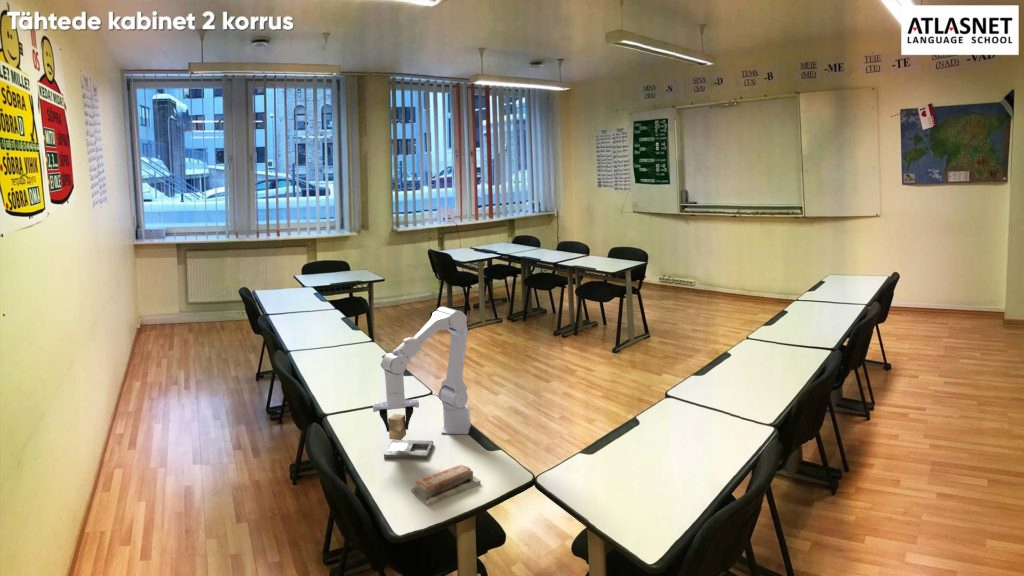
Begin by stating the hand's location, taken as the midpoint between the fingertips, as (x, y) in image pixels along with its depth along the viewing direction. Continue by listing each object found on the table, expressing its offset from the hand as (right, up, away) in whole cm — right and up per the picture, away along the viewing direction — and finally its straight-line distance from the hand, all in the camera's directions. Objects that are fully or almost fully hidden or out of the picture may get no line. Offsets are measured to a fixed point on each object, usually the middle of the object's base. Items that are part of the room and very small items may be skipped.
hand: (397, 429), depth 194 cm
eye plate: (+4, -8, +1) cm, 9 cm away
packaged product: (+18, -13, -20) cm, 30 cm away
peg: (0, -3, 0) cm, 3 cm away
